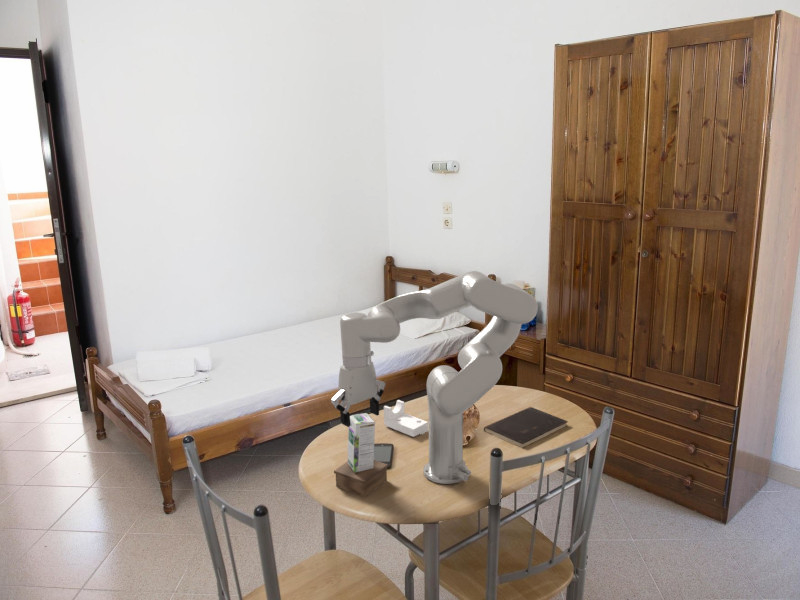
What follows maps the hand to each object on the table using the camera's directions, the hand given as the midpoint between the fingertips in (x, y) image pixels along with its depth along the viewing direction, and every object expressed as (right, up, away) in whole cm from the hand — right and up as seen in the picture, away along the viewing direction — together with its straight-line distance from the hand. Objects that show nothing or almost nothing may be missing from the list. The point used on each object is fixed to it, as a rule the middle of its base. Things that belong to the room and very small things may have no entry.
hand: (360, 419), depth 171 cm
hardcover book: (+52, -10, +35) cm, 63 cm away
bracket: (+13, -10, +36) cm, 40 cm away
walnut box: (0, -19, +4) cm, 19 cm away
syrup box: (0, -14, +4) cm, 14 cm away
